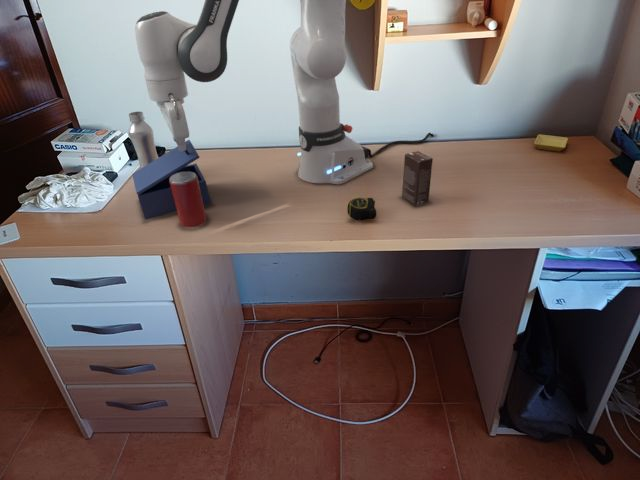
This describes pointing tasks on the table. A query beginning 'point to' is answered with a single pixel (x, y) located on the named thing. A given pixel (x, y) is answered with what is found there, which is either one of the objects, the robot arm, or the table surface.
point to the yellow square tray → (550, 142)
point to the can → (188, 199)
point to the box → (417, 178)
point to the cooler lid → (164, 167)
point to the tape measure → (362, 209)
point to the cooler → (168, 195)
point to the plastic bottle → (142, 139)
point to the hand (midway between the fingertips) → (179, 145)
